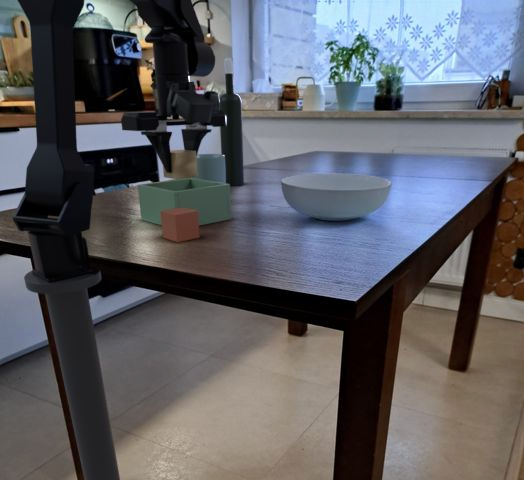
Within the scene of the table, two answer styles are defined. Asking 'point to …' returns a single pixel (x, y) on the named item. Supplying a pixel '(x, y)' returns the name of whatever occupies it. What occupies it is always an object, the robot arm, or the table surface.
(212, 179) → the cup
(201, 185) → the green storage bin
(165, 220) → the terracotta block
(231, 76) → the wine bottle
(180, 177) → the beech block
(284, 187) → the serving bowl
